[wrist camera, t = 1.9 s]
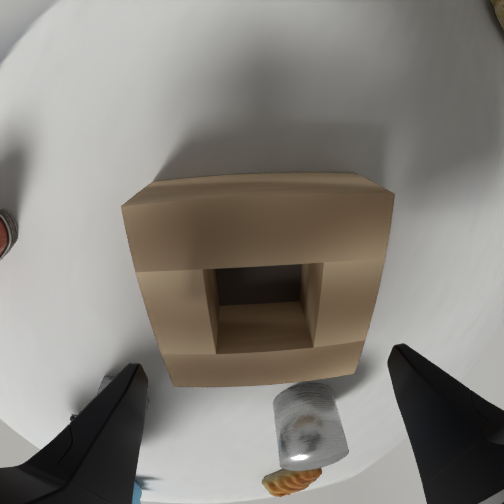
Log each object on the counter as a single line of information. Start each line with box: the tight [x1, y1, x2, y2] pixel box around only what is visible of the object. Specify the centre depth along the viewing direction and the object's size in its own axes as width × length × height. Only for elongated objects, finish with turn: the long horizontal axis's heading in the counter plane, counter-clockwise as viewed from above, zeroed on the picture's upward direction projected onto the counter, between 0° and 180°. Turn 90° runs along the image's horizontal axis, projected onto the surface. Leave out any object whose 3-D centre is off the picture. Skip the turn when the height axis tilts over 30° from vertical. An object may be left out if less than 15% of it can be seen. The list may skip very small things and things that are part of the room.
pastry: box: [262, 468, 322, 497], centre depth 30 cm, size 9×7×4 cm
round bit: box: [273, 383, 349, 471], centre depth 18 cm, size 5×5×6 cm
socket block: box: [121, 172, 395, 387], centre depth 13 cm, size 10×10×4 cm
